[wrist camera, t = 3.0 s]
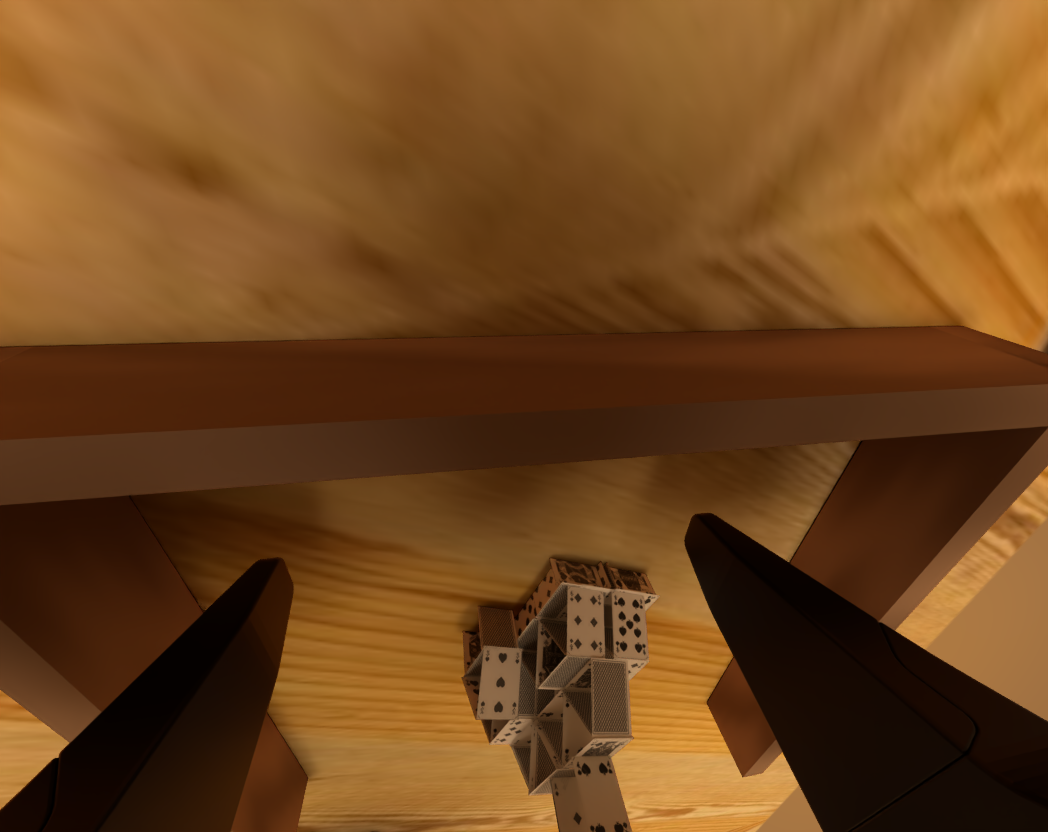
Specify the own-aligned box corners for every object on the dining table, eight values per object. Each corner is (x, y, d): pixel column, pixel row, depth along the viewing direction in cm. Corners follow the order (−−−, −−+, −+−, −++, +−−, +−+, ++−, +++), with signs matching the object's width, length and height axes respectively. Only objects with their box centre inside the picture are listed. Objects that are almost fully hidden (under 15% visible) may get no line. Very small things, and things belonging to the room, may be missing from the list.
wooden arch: (724, 700, 21) (762, 773, 19) (283, 782, 18) (257, 886, 15) (963, 326, 10) (1126, 380, 8) (-37, 348, 7) (-304, 457, 4)
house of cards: (417, 467, 10) (381, 972, 4) (675, 530, 14) (886, 866, 7) (333, 660, 14) (246, 1077, 8) (550, 674, 17) (615, 976, 11)
